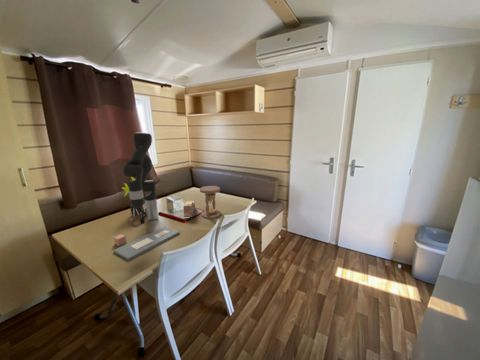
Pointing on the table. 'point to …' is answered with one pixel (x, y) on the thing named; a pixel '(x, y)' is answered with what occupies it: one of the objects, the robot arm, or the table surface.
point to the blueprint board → (145, 243)
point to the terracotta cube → (120, 240)
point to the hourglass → (210, 196)
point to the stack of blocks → (189, 208)
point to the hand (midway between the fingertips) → (139, 222)
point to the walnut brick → (137, 220)
